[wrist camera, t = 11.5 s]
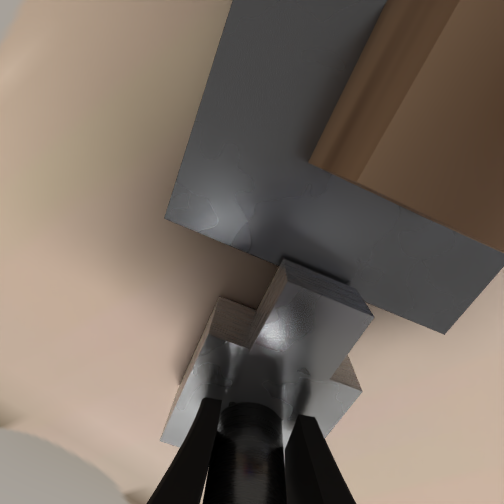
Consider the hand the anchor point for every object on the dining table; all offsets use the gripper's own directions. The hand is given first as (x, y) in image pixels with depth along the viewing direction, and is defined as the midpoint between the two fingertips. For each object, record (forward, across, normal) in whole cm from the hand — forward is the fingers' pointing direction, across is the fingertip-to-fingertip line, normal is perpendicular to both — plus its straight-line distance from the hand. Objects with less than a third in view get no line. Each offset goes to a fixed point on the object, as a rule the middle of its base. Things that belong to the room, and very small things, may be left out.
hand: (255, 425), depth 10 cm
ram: (+3, 0, -1) cm, 3 cm away
